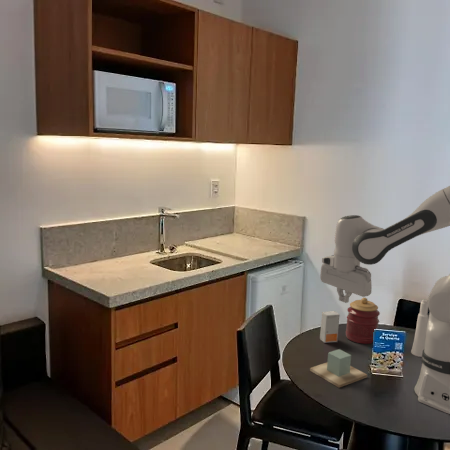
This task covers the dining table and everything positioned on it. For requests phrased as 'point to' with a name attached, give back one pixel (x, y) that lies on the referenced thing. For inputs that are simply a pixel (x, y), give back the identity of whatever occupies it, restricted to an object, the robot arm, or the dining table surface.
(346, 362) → the pale green cube
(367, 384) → the dining table surface
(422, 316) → the cosmetic bottle
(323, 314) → the skincare box
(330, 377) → the post board
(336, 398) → the dining table surface
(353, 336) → the canister
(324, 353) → the dining table surface
